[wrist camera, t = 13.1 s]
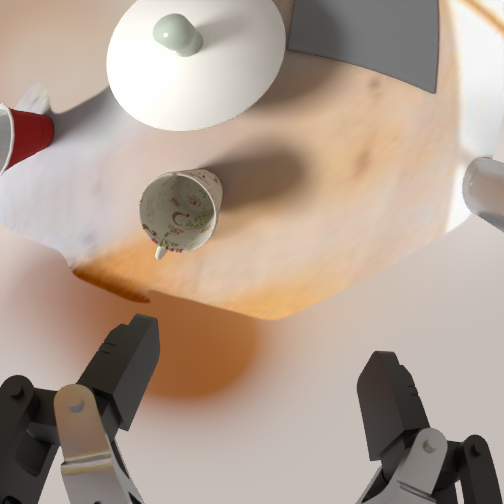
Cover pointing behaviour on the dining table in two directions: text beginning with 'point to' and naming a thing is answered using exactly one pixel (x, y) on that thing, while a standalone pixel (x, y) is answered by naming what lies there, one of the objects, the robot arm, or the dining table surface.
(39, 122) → the plastic cup
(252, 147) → the dining table surface
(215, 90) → the lid
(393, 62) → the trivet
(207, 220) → the mug
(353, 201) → the dining table surface
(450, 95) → the dining table surface
